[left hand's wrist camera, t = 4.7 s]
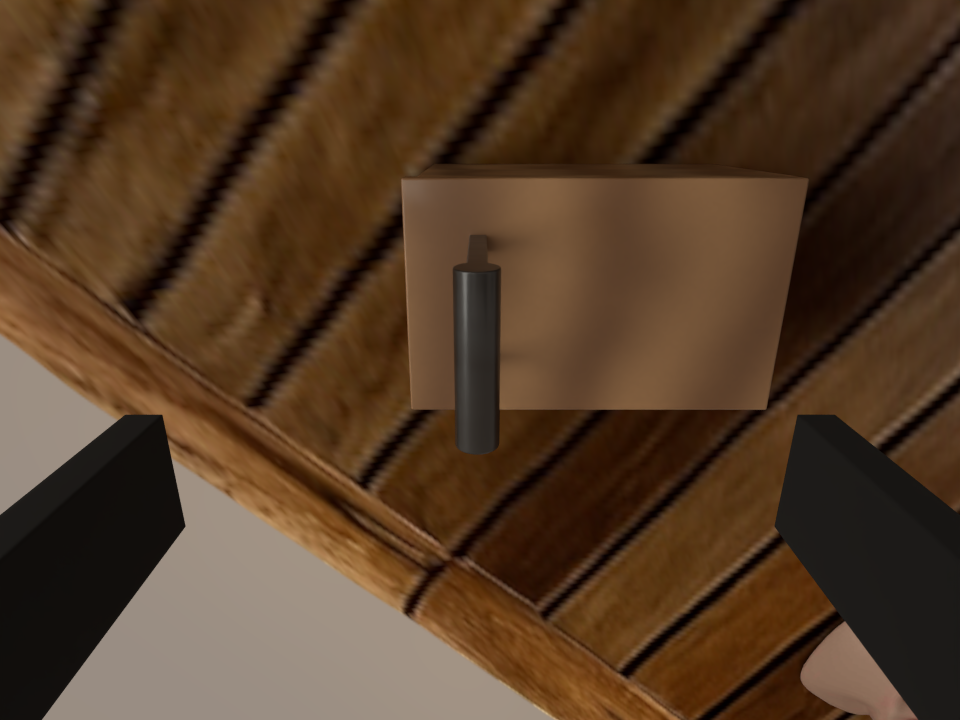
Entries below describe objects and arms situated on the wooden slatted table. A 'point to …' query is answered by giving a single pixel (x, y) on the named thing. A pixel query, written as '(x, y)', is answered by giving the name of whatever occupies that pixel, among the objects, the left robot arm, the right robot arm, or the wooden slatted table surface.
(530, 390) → the lid
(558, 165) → the chest
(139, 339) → the wooden slatted table surface
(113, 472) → the left robot arm
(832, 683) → the anatomical model
